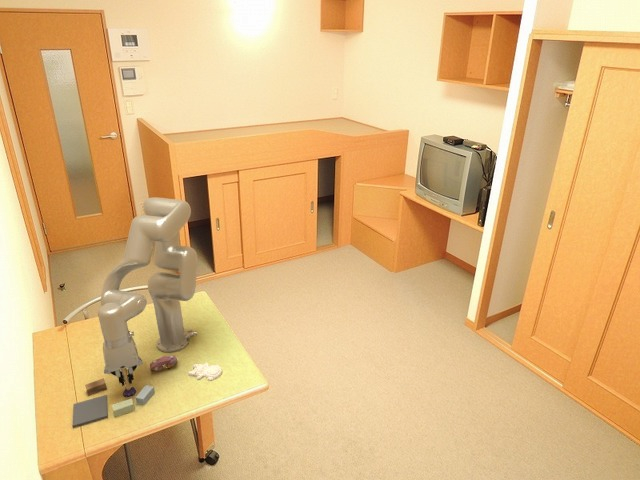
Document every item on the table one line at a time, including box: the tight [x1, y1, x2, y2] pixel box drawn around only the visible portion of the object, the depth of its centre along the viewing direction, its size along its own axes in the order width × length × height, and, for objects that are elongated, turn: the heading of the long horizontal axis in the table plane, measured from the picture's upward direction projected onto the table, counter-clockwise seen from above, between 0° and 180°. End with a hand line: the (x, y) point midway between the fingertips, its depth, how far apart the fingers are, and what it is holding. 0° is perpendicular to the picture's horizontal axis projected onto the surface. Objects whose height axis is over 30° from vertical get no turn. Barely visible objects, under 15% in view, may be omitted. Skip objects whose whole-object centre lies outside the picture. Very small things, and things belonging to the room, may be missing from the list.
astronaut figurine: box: [187, 362, 223, 382], centre depth 162 cm, size 9×12×3 cm
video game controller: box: [149, 354, 178, 372], centre depth 163 cm, size 10×5×7 cm, turn 118°
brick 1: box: [84, 378, 108, 397], centre depth 153 cm, size 6×3×3 cm, turn 125°
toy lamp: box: [120, 366, 137, 398], centre depth 150 cm, size 5×5×17 cm
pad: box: [71, 394, 109, 429], centre depth 145 cm, size 10×10×1 cm
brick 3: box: [134, 384, 156, 406], centre depth 150 cm, size 6×3×3 cm, turn 165°
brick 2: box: [112, 397, 136, 418], centre depth 145 cm, size 6×3×3 cm, turn 120°
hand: (126, 382), depth 151 cm, fingers closed on toy lamp
